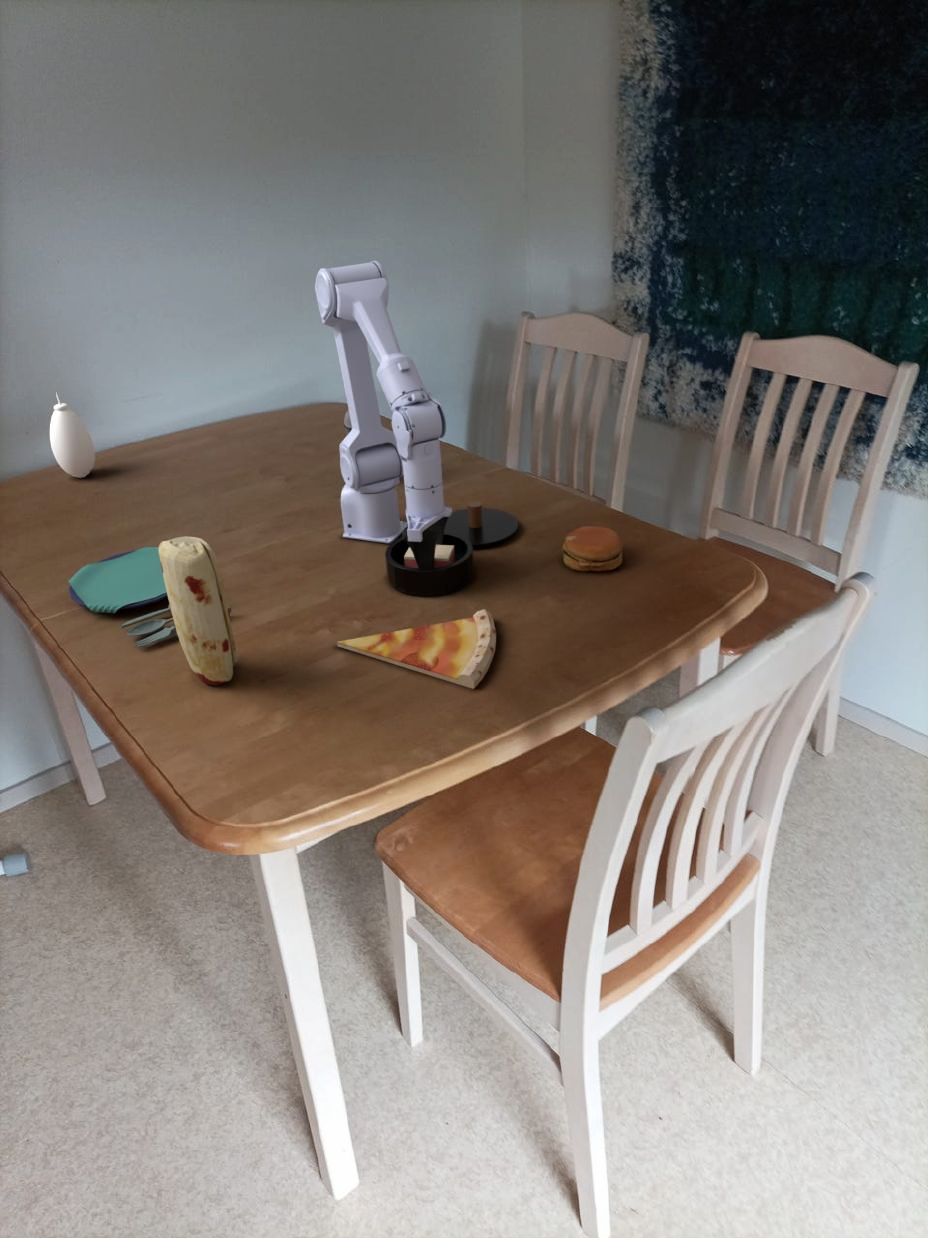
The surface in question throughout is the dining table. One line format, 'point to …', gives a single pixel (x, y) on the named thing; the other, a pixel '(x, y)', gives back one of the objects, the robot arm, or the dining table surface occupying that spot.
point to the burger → (592, 549)
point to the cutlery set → (126, 590)
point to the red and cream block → (442, 556)
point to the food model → (199, 607)
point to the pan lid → (482, 524)
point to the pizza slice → (437, 648)
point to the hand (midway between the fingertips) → (429, 562)
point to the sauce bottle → (71, 441)
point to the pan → (434, 578)
